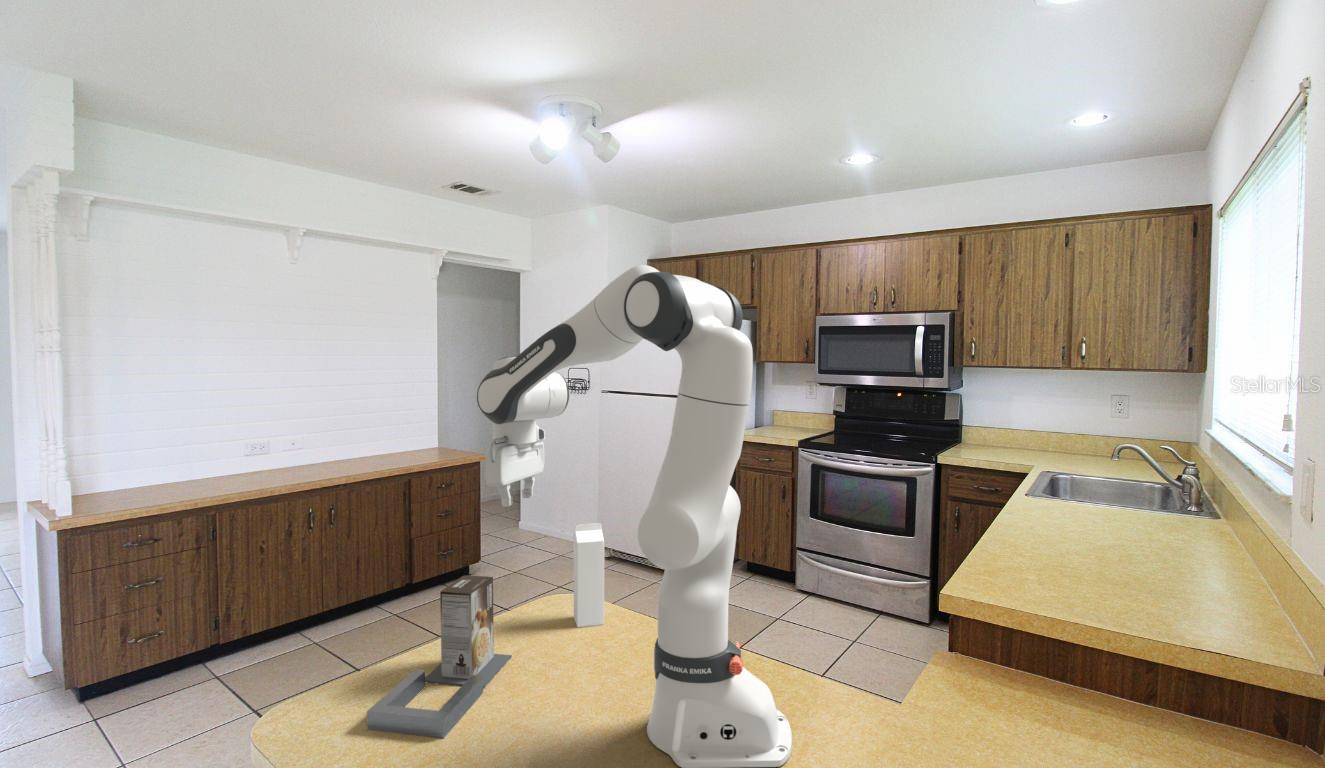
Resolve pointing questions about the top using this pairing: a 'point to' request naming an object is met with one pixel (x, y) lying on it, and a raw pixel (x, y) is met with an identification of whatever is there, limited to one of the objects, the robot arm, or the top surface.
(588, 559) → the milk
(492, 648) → the coffee box
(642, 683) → the top surface
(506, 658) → the rubber mat
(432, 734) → the u-shaped bracket
